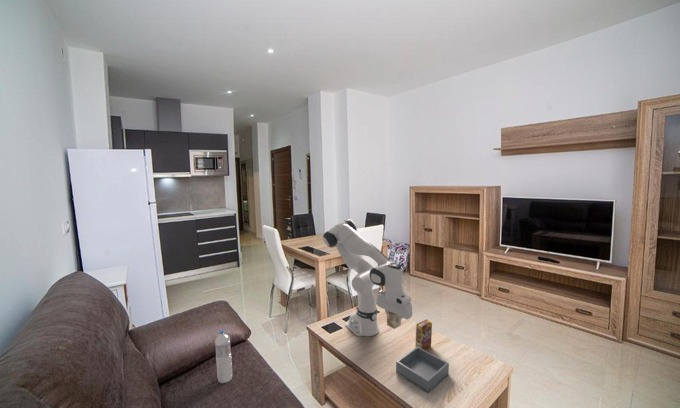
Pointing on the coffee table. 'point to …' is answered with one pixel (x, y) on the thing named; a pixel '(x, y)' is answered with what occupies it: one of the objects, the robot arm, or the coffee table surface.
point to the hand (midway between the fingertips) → (393, 320)
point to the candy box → (423, 334)
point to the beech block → (392, 320)
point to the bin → (422, 369)
